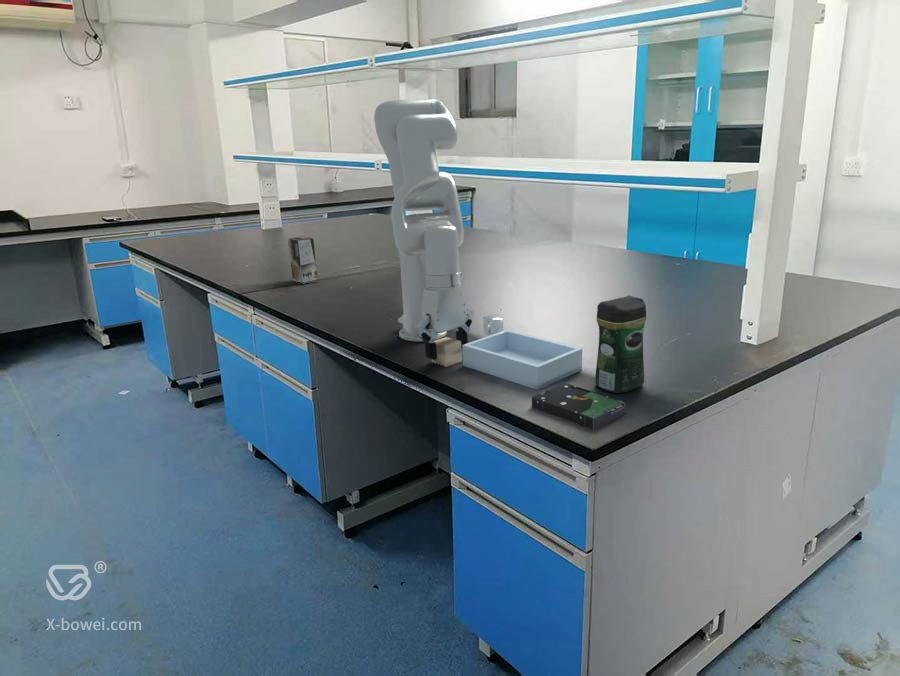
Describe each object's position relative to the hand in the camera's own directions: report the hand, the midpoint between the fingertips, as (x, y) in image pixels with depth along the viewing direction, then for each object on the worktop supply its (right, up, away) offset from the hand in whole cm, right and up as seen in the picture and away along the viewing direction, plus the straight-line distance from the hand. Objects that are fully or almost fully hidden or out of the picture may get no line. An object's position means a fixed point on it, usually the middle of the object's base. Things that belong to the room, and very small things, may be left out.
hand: (447, 353), depth 151 cm
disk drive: (+25, -11, -27) cm, 38 cm away
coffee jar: (+35, -6, -17) cm, 40 cm away
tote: (+17, -3, -5) cm, 18 cm away
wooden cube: (0, -2, +1) cm, 3 cm away
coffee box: (-53, +24, +91) cm, 108 cm away
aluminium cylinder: (+12, +2, +12) cm, 17 cm away
